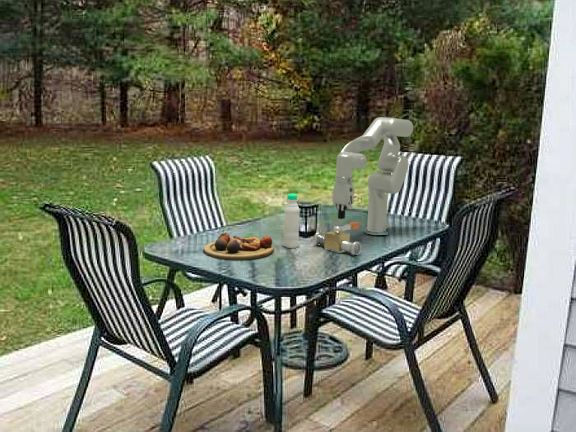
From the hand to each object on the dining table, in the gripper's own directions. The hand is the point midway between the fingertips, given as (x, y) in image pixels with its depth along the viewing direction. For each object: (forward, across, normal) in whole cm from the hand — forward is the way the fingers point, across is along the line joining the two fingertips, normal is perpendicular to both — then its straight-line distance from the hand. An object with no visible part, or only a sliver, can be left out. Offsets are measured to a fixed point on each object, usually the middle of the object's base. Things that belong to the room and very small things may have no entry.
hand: (341, 218), depth 297 cm
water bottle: (+13, +12, +21) cm, 28 cm away
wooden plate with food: (+15, +22, +44) cm, 52 cm away
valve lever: (+4, -6, +3) cm, 8 cm away
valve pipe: (+13, -6, +9) cm, 17 cm away
